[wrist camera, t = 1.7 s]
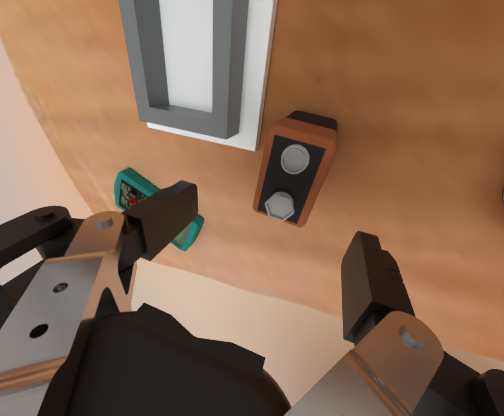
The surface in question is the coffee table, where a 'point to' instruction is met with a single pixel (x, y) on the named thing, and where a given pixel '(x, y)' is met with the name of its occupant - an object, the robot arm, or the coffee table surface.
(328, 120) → the battery
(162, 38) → the charging cradle
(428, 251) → the coffee table surface
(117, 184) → the digital multimeter
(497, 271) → the coffee table surface
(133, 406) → the robot arm
